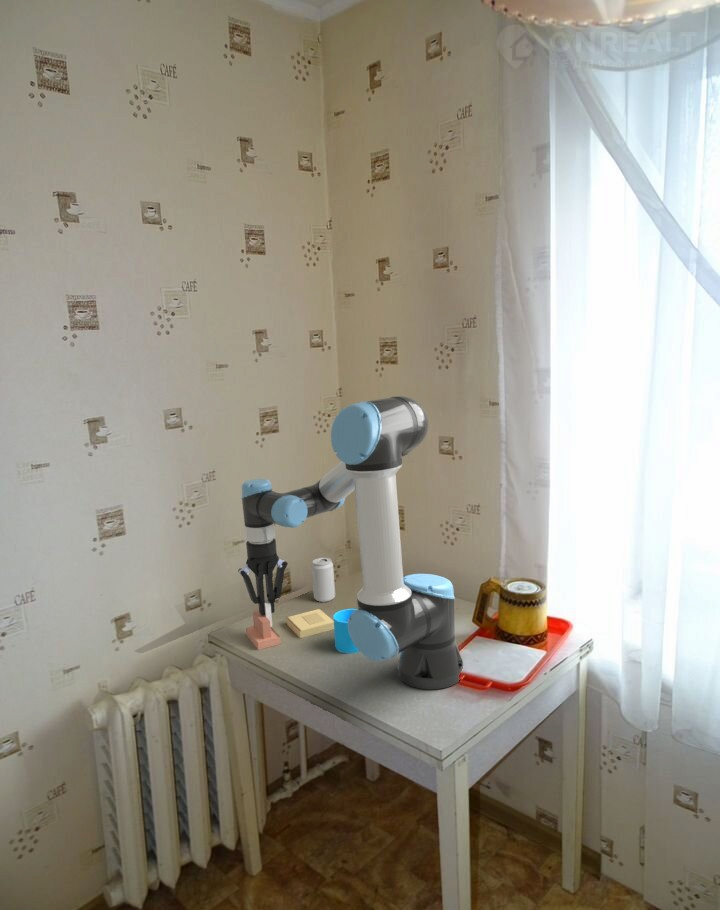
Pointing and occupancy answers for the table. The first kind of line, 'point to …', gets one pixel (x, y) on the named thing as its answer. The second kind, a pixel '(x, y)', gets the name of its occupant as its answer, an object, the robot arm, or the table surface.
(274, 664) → the table surface
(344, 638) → the mug
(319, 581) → the beverage can
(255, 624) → the pink stepped block
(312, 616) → the tan flat square block
